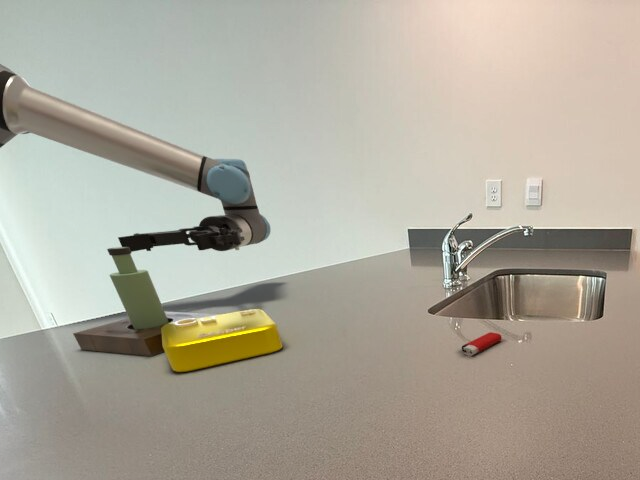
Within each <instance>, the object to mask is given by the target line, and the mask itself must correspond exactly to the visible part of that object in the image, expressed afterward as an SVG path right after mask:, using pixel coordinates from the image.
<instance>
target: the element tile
mask: <svg viewBox="0 0 640 480" xmlns="http://www.w3.org/2000/svg"><path fill="white" fill-rule="evenodd" d="M161 332H162V346H163V349H164V351H165V352H164V353H165V355H166V358H167V360H168V363H169V365H170V367H171V369H172V370H173V371H174V372H176V373H187V372H193V371H198V370H202V369H206V368H210V367H215V366H219V365H223V364H228V363H233V362H237V361H242V360H246V359H250V358H255V357H259V356H264V355H269V354H272V353H275V352H278V351H280V350H281V349H282V348H283V343H282V339H281V336H280V333H279V329H278V326H277V324H276V322H275V321H274V320H273V319H272V318H271V317H270V316H269V315H268V314H267V313H266V312H265V311H264V310H262V309H260V308H251V309H245V310H239V311H234V312H227V313H221V314H219V315H215V316H209V317H203V318H197V319H195V318H190V319H183V320H179V321H176V322H173V323H168V324H165V325H164V326H163V327H162V328H161Z"/></svg>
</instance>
